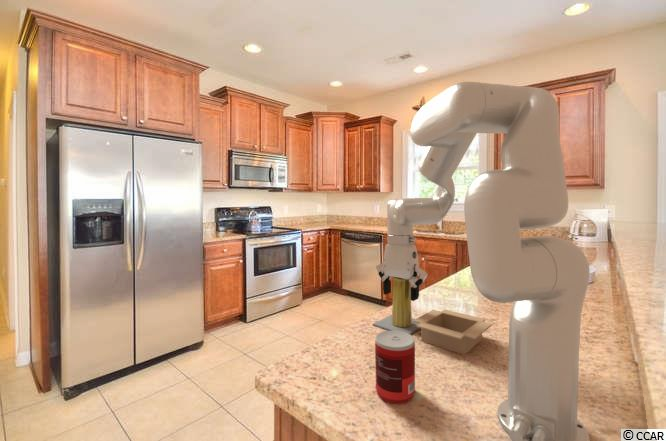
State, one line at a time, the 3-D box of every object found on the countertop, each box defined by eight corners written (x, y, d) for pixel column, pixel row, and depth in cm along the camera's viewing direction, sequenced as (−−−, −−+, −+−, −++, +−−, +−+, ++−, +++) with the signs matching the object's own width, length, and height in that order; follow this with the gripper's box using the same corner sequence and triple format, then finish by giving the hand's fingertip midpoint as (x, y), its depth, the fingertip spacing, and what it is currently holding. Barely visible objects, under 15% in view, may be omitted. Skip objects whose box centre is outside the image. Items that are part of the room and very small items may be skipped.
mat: (407, 336, 88) (407, 334, 88) (372, 325, 97) (372, 323, 97) (428, 324, 97) (428, 322, 97) (395, 314, 105) (395, 313, 105)
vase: (412, 328, 93) (412, 280, 92) (391, 327, 94) (391, 279, 93) (411, 320, 99) (411, 275, 98) (391, 319, 100) (391, 274, 99)
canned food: (408, 380, 67) (408, 329, 66) (420, 404, 59) (420, 346, 58) (372, 381, 67) (372, 330, 66) (379, 405, 59) (378, 348, 58)
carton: (470, 362, 74) (470, 341, 74) (408, 341, 86) (408, 323, 85) (495, 339, 86) (495, 321, 85) (437, 323, 97) (437, 307, 97)
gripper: (433, 241, 92) (432, 299, 93) (383, 237, 104) (384, 288, 105) (419, 244, 87) (419, 305, 88) (369, 239, 99) (370, 293, 100)
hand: (400, 296), depth 96 cm, fingers open, 9 cm apart
